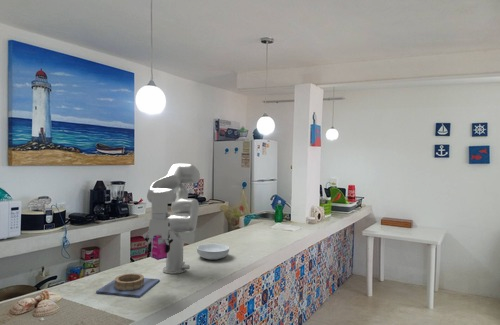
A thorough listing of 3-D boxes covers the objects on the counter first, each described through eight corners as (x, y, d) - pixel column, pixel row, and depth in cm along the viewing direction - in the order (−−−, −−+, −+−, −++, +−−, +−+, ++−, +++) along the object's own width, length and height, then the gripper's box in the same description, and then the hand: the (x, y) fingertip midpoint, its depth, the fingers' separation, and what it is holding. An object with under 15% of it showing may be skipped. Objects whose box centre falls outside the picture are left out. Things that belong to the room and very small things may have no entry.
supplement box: (150, 257, 179) (150, 234, 179) (160, 255, 183) (161, 232, 183) (157, 260, 175) (157, 236, 175) (167, 257, 179) (167, 234, 179)
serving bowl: (224, 264, 223) (224, 252, 223) (191, 261, 228) (191, 250, 227) (232, 254, 244) (233, 244, 244) (202, 252, 248) (202, 242, 248)
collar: (159, 281, 191) (159, 272, 191) (139, 297, 169) (139, 287, 169) (120, 277, 195) (120, 269, 195) (96, 293, 173) (96, 283, 173)
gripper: (179, 215, 181) (178, 250, 182) (145, 213, 183) (145, 248, 184) (174, 218, 174) (173, 255, 174) (139, 216, 176) (138, 253, 177)
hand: (159, 251), depth 179 cm, fingers closed on supplement box, 7 cm apart
